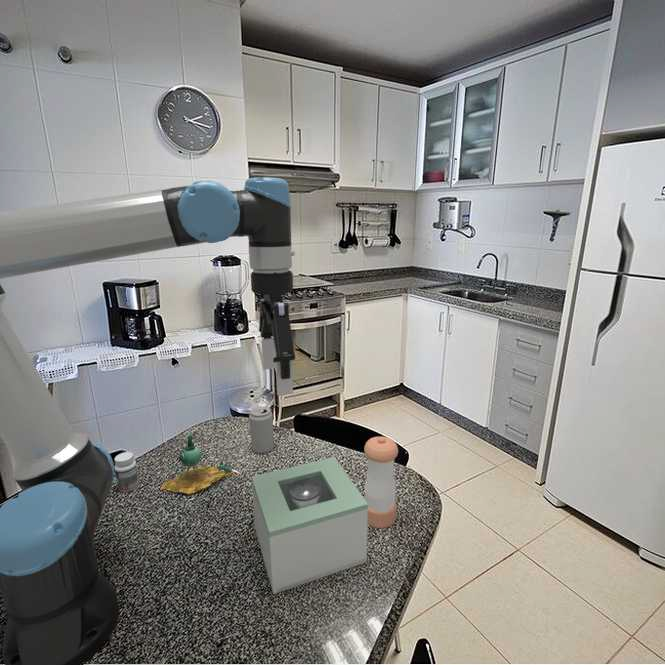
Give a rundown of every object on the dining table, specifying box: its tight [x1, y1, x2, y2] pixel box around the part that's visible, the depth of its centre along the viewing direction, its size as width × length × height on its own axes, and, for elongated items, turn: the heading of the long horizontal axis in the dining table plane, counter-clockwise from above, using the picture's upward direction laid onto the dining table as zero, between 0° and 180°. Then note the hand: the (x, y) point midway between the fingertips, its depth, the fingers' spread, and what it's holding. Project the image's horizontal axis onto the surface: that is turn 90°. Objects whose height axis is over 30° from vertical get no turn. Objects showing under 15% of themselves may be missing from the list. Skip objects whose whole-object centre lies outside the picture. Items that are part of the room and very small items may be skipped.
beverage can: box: [248, 405, 275, 454], centre depth 111 cm, size 6×6×12 cm
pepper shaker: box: [363, 436, 399, 529], centre depth 84 cm, size 7×7×19 cm
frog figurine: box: [160, 433, 236, 495], centre depth 97 cm, size 10×18×15 cm, turn 100°
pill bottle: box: [114, 451, 140, 493], centre depth 96 cm, size 5×5×8 cm
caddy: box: [251, 456, 368, 595], centre depth 77 cm, size 18×16×13 cm
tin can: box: [289, 479, 321, 511], centre depth 78 cm, size 6×6×12 cm
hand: (276, 380), depth 77 cm, fingers open, 13 cm apart
